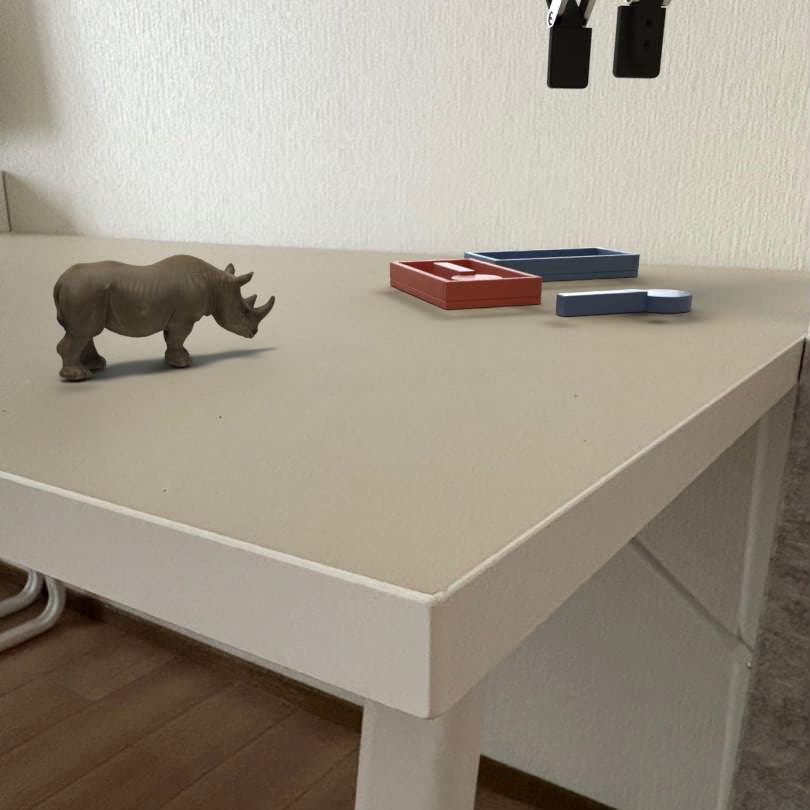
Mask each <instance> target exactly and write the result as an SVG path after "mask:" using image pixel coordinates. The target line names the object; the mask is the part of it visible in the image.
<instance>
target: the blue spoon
mask: <svg viewBox="0 0 810 810" xmlns="http://www.w3.org/2000/svg"><path fill="white" fill-rule="evenodd" d="M693 295H694V294H693V293H692V292H690V291H686V290H679V289H667V288H666V289H665V288H664V289H662V288H660V289H659V288H657V289H656V288H655V289H654V288H653V289H652V288H651V289H639V288H635V289H633V288H631V289H617V290H599V291H598V290H597V291H582V292H581V291H580V292H563V293H562V292H561V293H556V299H555V300H556V301H555V315H558V316H561V317H566V318H567V317H581V316H595V315H598V316H599V315H611V314H627V313H641V312H642V313H643V312H645V313H646V312H647V313H655V314H681V313H687V312H690V311H692V304H693Z"/></svg>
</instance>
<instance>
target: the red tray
mask: <svg viewBox="0 0 810 810" xmlns="http://www.w3.org/2000/svg"><path fill="white" fill-rule="evenodd" d="M444 262H447V263H451V264H454V265H457V266H461V267H464V268H467V269H471V270H474V271H476V274H481V275H495V276H500V277H502V278H498V279H478V280H457V281H449V280H447V279H444V278H441V277H438V276H435V275H433V263H444ZM389 285H390V286H392V287H394V288H395V289H398V290H400V291H402V292H405V293H408V294H410V295H412V296H414V297H416V298H419V299H421V300H423V301H426V302H427V303H430V304H433V305H435V306H437V307H440V308H442V309H444V310H458V309H459V310H463V309H464V310H465V309H479V308H495V307H515V306H530V305H532V306H533V305H541V304H542V293H543V292H542V290H543V282H542V277H539V276H535V275H532V274H528V273H524V272H520V271H517V270H513V269H509V268H506V267H502V266H498V265H494V264H491V263H487V262H483V261H479V260H476V259H472V258H470V259H464V258H451V259H450V258H449V259H448V258H447V259H427V260H425V259H423V260H422V259H421V260H405V261H404V260H401V261H399V260H398V261H390V262H389Z"/></svg>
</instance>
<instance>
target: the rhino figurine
mask: <svg viewBox="0 0 810 810" xmlns="http://www.w3.org/2000/svg"><path fill="white" fill-rule="evenodd" d="M235 273H236V268H235V265H234V264H233V263H232V262H229V263H228V264H227V265H226V267H225V268H224V270H223V269H220V268H218V267H216V266H214V264H212V263H209V262H207V261H206V260H203V259H202V258H199V257H197V256H194V255H190V254H181V253H180V254H174V255H171V256H168V257H165V258H163V259H161V260H160V261H157V262H154V263H152V264H147V265H136V264H130V263H125V262H122V261H118V260H109V259H108V260H107V259H106V260H100V261H94V262H79V263H74V264H72V265H71V266H70V267H68V268H67V269H66V270H65V271H63V272H62V274H60V276H59V277H58V279H57V280H56V282H55V284H54V285H53V290H52V297H53V303H54V306H55V309H56V321H57V322H58V324H59V325H60V326H61V327H62V328H63V330H64V331H65V333H64V335H63V337H62V338H61V339H60V340H59V341H58V343H57V344H56V348H55V349H56V353H57V354H58V355H59V356H60V358H61V360H62V366H61V369H60V370H59V372H58V375H59V377H60V378H62V379H66V380H74V381H77V380H81V379H86V378H92V375H93V373H92V371H90V370H95V369H99V368H105V367H106V366H107V360H106V358H105V357H104V356H102V355H101V354H99V351H98V350H97V347H96V345H95V342H94V341H95V340H94V338H95V337H98V336H99V335H101V334H102V333H103V331H104V330H105V329H106V330H107V331H109V332H112V333H114V334H117V335H120V336H123V337H127V338H135V339H136V338H137V339H139V338H146V337H151V336H153V335H155V334H158V333H160V332H162V335H163V341H164V343H165V345H166V349H165V351H164V361H165V362H167V363H168V364H170V365H172V366H176V367H184V366H185V367H186V366H191V365H192V364H193V363H194V360H193V358H192V357H191V355H190V352H189V351H188V349H187V348H186V347H185V346H184V344H185V341H186V340H187V338H188V336H190V334H191V333H192V331H193V328H194V326H195V323H196V322H200V321H201V319H202V318H203V317H204V316H205V317H210V316H211V317H212V318H213V320H214V321H215V322H216V324H217V325H218V326H219V327H221V328H222V329H223V330H225V331H227V332H229V333H232V334H234V335H236V336H240V337H243V338H245V339H250V340H251V339H253V338H254V337H255V336H256V335H257V333H258V332H259V325H260V323H261V322H262V321H263V320H264V319H265V318H266V317H267V316H268V315H269V314H270V312H271V311H272V309H273V308H274V305H275V302H276V297H275V296H276V295H271V296H270V298H269V299H268V301H267V302H266V303H265V304H263V305H260V306H257V307H255V304H256V301H257V299H258V294H257V293H254V294H252V295H250V296H248V297H245V298H244V297H243V295H242V292H241V291H242V290H241V289H242V288H241V287H243V286H245V285H247V284H248V283H249V282H251V281H252V278H253V276H254V274H255V272H254V271H250V272H248V273H245V274H241V275H238V276H237V275H235Z"/></svg>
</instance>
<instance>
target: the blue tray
mask: <svg viewBox="0 0 810 810" xmlns="http://www.w3.org/2000/svg"><path fill="white" fill-rule="evenodd" d="M470 258H472V259H476V260H479V261H483V262H487V263H491V264H494V265H498V266H502V267H506V268H509V269H513V270H517V271H520V272H524V273H528V274H532V275H535V276H539V277H542V283H543V282H559V281H561V282H562V281H578V280H579V281H580V280H600V279H601V280H602V279H619V278H621V279H622V278H637V277H638V276H639V269H640V268H639V267H640V258H641V254H639V253H633V252H629V251H628V252H627V251H622V250H617V249H611V248H605V247H599V246H592V247H591V246H590V247H569V248H568V247H567V248H566V247H565V248H544V249H543V248H542V249H540V248H539V249H519V250H518V249H517V250H515V249H514V250H494V251H493V250H490V251H467V252H464V253H463V259H470Z"/></svg>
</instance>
